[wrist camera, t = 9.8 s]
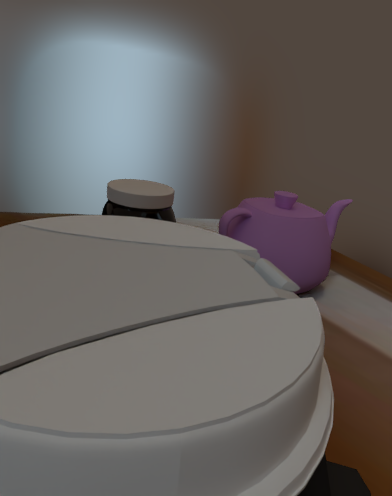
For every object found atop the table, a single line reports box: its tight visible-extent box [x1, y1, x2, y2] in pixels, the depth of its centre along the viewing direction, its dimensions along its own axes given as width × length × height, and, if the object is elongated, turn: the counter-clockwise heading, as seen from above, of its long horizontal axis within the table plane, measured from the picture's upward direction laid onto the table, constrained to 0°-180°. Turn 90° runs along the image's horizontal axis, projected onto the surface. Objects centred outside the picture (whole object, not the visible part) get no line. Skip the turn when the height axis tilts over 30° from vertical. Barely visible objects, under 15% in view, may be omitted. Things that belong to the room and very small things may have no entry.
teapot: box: [219, 191, 353, 294], centre depth 46 cm, size 20×13×12 cm, turn 114°
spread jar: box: [102, 179, 176, 223], centre depth 39 cm, size 12×11×12 cm
